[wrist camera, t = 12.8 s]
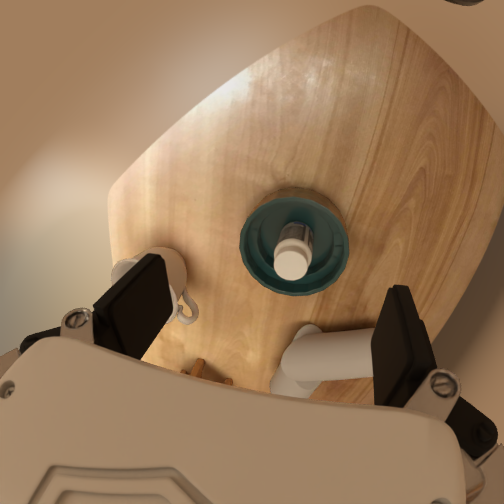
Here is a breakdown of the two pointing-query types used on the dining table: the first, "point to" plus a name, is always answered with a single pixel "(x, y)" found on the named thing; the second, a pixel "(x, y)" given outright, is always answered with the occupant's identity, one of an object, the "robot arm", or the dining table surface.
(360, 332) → the beige tubular fitting
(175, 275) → the teacup
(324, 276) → the bowl
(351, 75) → the dining table surface
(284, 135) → the dining table surface
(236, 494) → the robot arm
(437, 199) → the dining table surface
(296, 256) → the pill bottle
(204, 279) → the dining table surface
